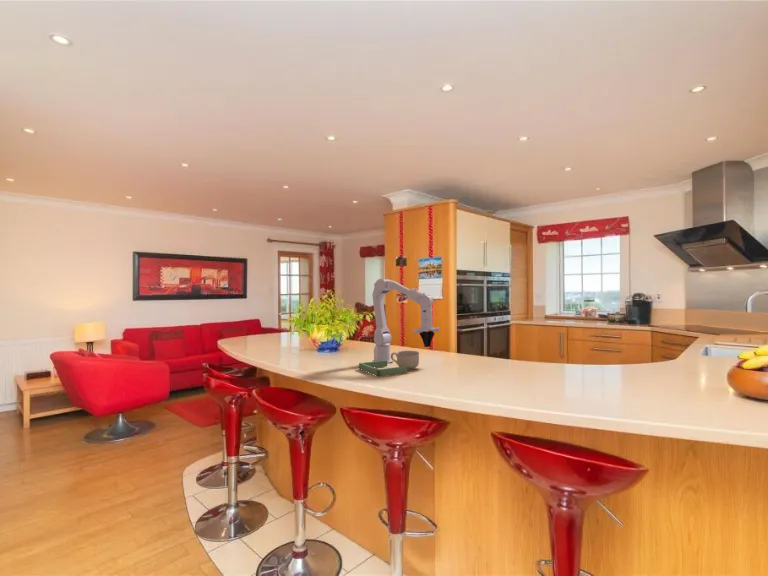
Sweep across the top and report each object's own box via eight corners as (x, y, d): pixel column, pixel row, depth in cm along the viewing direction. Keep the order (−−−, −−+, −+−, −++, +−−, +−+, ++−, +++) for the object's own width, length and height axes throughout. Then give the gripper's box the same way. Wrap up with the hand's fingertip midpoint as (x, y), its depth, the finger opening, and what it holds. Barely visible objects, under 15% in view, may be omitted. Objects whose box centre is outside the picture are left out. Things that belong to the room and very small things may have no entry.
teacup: (423, 367, 186) (422, 351, 186) (412, 371, 176) (412, 354, 177) (398, 365, 193) (397, 349, 193) (386, 369, 184) (386, 352, 184)
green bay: (359, 369, 185) (359, 363, 185) (386, 366, 191) (386, 360, 191) (377, 377, 167) (377, 370, 167) (407, 373, 173) (406, 366, 173)
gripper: (418, 320, 184) (419, 348, 184) (443, 319, 191) (443, 346, 191) (411, 319, 190) (411, 347, 190) (435, 318, 197) (435, 344, 197)
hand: (427, 346), depth 191 cm, fingers closed
